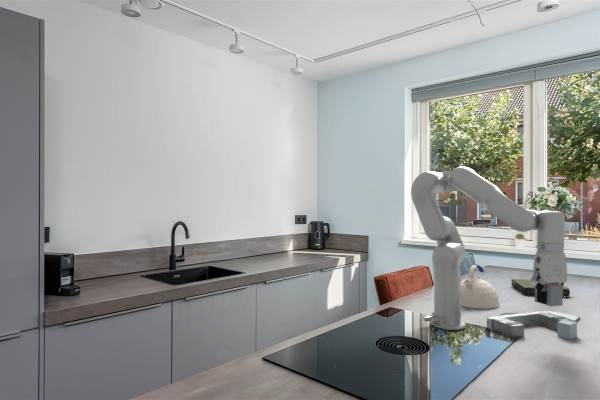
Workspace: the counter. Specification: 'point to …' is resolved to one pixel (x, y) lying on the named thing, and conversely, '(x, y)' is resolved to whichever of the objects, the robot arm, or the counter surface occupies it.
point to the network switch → (531, 287)
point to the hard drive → (567, 316)
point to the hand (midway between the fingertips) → (548, 301)
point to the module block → (552, 294)
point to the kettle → (478, 292)
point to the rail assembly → (522, 322)
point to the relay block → (567, 329)
